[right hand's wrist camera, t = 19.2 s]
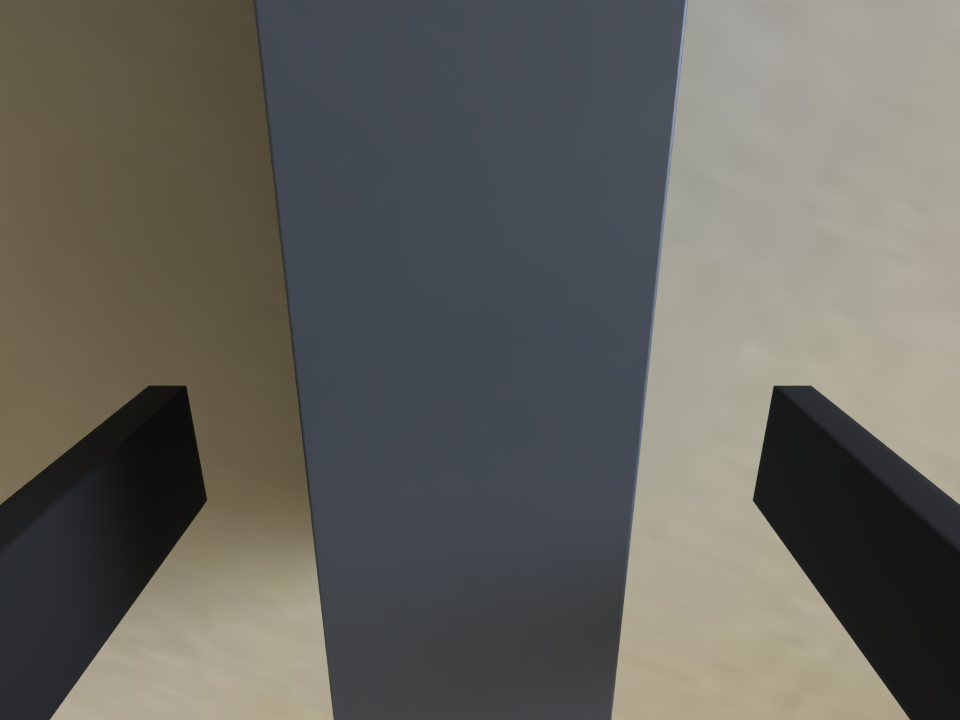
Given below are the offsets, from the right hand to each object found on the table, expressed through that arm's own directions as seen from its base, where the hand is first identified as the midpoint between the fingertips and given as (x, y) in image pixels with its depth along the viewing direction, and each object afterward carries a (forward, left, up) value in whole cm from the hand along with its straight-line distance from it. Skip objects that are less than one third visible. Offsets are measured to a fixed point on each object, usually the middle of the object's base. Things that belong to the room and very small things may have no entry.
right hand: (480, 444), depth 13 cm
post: (-13, +22, -4) cm, 26 cm away
